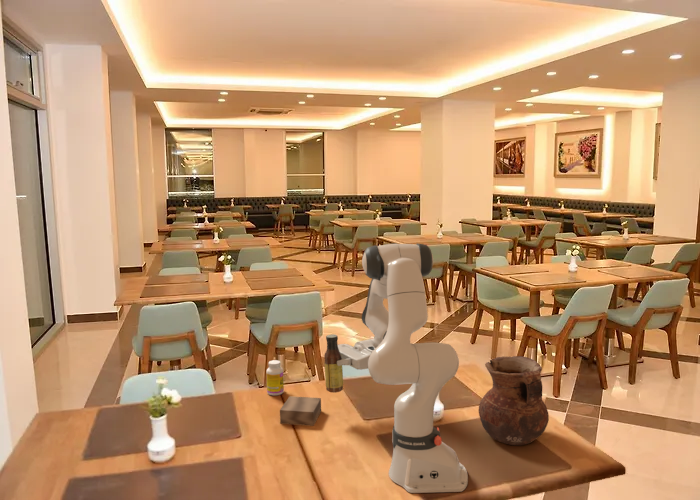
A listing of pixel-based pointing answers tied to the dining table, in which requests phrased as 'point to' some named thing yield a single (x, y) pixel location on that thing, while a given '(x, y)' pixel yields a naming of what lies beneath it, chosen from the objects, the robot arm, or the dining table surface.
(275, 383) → the supplement bottle
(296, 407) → the walnut block
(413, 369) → the robot arm
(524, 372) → the jug
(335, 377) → the sauce bottle
